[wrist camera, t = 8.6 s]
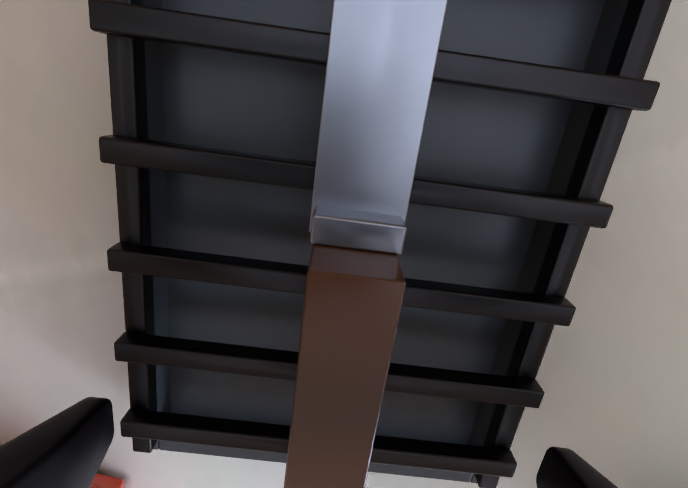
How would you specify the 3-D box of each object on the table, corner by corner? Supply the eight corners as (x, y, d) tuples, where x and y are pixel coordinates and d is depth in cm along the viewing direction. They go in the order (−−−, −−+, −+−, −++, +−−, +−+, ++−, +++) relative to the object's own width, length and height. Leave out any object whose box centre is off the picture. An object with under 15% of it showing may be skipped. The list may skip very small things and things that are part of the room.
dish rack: (473, 448, 18) (498, 518, 15) (161, 415, 18) (123, 479, 15) (703, -272, 10) (854, -430, 7) (137, -376, 10) (40, -595, 6)
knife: (356, 472, 14) (358, 556, 12) (284, 465, 14) (270, 547, 12) (516, -370, 7) (610, -633, 5) (376, -397, 7) (392, -680, 5)
